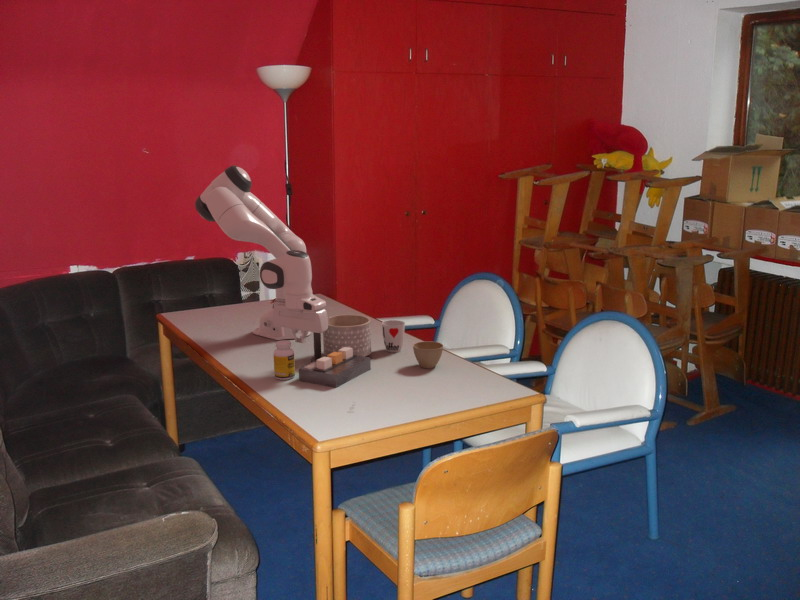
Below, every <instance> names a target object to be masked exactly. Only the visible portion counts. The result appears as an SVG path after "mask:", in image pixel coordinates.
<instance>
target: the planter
mask: <svg viewBox="0 0 800 600" xmlns="http://www.w3.org/2000/svg"><path fill="white" fill-rule="evenodd" d="M371 323H372V321H371V318H370V317H367V316H364V315H361V314H338V315H337V314H336V315H332V316H331V315H330V316H328V329H327V330H326V331H325V332H323V333H322V336H323V337H322V338H323V339H322V340H323V342H322V343H323V344H322V345H323V355H324V357H325V356H327V355H328V354H331V353H333V352H338V350H339V349H342V348H344V347H349V348H353V355H357V356H364V357H368V356H369V355H371V353H372V338H371V337H372V331H371V330H372V328H371V327H372V326H371Z"/></svg>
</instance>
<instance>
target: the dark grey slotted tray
mask: <svg viewBox="0 0 800 600" xmlns="http://www.w3.org/2000/svg"><path fill="white" fill-rule="evenodd" d="M324 357H328V355H327V356H325V355H324ZM371 369H372V368H371V357H370V356H369V357H368V356H366V357H364V356H357V355H353V356H352V357H350V358H348V359H343V361H342V362H340V363H337V364H332V366H331V367H329V368H327V369H325V370H323V369H318V368H317V363H316V361H314V362H312V363H311V362H310V363H308V364H305V365H302V366H301V367H299V368H298V381H300V382H304V383H305V382H306V383H309V384H314V385H319V386H327V387H330V388H331V387H332V388H338V387H340V386H342V385H344V384H346V383H348V382H349V381H351V380H353V379H356V378H357V377H358V376H361V375H363V374H365V373H367V372H368V371H370V370H371Z"/></svg>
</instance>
